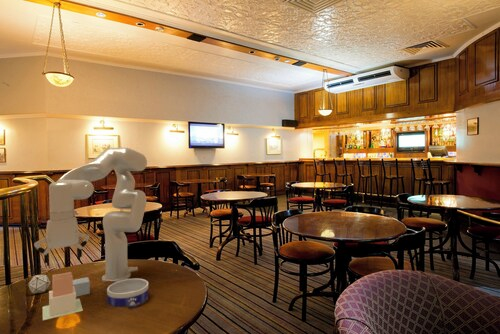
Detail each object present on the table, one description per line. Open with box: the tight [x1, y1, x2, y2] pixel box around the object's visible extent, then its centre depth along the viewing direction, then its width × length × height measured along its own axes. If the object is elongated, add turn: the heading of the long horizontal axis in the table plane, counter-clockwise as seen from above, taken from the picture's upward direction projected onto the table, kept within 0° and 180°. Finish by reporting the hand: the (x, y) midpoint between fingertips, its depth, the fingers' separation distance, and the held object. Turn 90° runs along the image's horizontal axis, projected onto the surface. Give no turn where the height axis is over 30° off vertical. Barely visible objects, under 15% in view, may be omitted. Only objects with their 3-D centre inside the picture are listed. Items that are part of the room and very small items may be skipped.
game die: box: [25, 272, 52, 296], centre depth 127 cm, size 9×8×10 cm
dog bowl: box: [106, 278, 149, 309], centre depth 120 cm, size 15×15×6 cm
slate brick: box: [73, 276, 91, 297], centre depth 125 cm, size 6×6×6 cm
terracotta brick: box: [51, 271, 74, 297], centre depth 111 cm, size 6×6×6 cm
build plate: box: [42, 298, 84, 321], centre depth 111 cm, size 12×12×1 cm
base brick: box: [48, 286, 77, 316], centre depth 111 cm, size 8×8×6 cm
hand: (63, 261), depth 111 cm, fingers open, 9 cm apart
